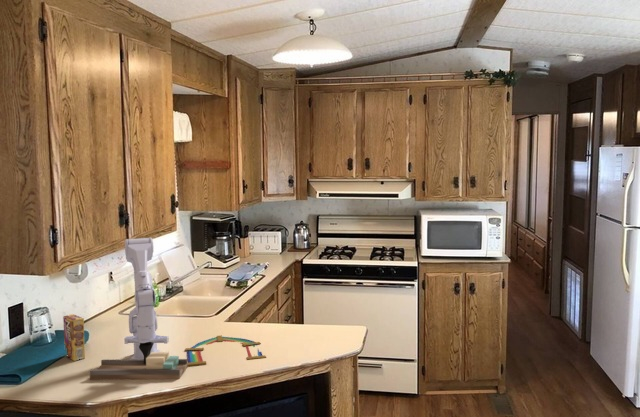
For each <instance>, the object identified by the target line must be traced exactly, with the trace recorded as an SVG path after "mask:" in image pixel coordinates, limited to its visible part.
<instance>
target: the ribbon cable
mask: <svg viewBox="0 0 640 417" xmlns="http://www.w3.org/2000/svg"><path fill="white" fill-rule="evenodd" d="M216 342H218V343H224V342H229V343H238V344H240V345H242V347H244V348H246V351H247V354H248V356H247V357H246V360H247V361H249V360H258V359H267V356H266V355H264V354H263V353H262V351H260V350H259V349H257V355H254V356H252V353H251V351H250V348H249V346H252V347H253V348H255V347H256V346H258V345H261V344H262V343H261V342H260V341H254V340H250V339H246V338H241V337H240V338H239V337H233V336H231V337H229V336H222V335H216V337H215V336H214V337H212V338H209V339H206V340H203V341H200V342H197V343H195V345H193V346H191V347H187V348H186V347H185V349H184V352H186V355H187V356H186V357H187V367H195V366H204V365H207V361H206V360H205V361H204V360H203V357H202V352H203V351H204V350H205V348H204V347H200V346H204V345H205V346H208V345H211V344H213V343H216ZM193 351H194V353H193Z"/></svg>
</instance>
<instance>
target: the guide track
mask: <svg viewBox="0 0 640 417" xmlns="http://www.w3.org/2000/svg"><path fill="white" fill-rule="evenodd" d="M187 363H188V358H179V355H169V358H168V359H167V360H166V361H165V363H164V364H163V369H146V365H144V359H130V358H129V359H128V358H127V359H126V358H125V359H102V360H100V365H99V366H98V367H97V368H96V369H93V368H92V369H90V370H89V379H90V380H164V379H165V380H169V379H170V380H172V379H173V380H176V379H178V380H179V379H181V377H182V376H183V375H184V373H185V372H186V370H187V369H188V366H187Z"/></svg>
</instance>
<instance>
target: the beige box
mask: <svg viewBox="0 0 640 417" xmlns="http://www.w3.org/2000/svg"><path fill="white" fill-rule="evenodd" d="M169 357H170V351H159V352H151V353H150V355H149V356H148V357H147V358H146V369H163V364H164V363H165V361H166V360H167V359H168V358H169Z"/></svg>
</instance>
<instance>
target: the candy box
mask: <svg viewBox="0 0 640 417" xmlns="http://www.w3.org/2000/svg"><path fill="white" fill-rule="evenodd" d="M62 320H63V340H64V341H63V343H64V344H65V345H66V348H67V353H68V354H67V355H68V357H70V358H71V359H70V358H69V359H70V360H72V361H74V362H75V361H80V360H84V359H85V358H86V352H85V350H86V349H85V322H84V320H85V319H84V317H81V316H79V315H76V314H73V313H72V314H67V315H63V316H62ZM65 345H64V346H65ZM68 357H67V358H68ZM79 359H80V360H79Z"/></svg>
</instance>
